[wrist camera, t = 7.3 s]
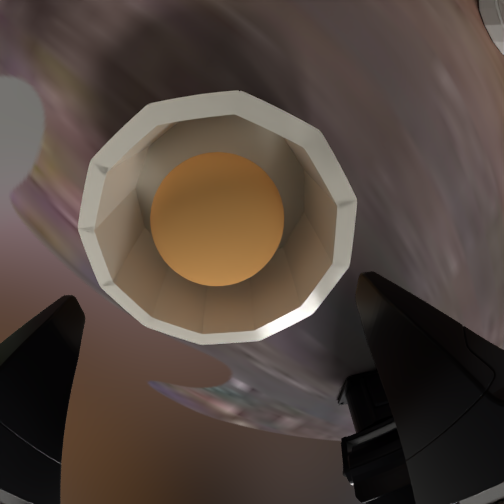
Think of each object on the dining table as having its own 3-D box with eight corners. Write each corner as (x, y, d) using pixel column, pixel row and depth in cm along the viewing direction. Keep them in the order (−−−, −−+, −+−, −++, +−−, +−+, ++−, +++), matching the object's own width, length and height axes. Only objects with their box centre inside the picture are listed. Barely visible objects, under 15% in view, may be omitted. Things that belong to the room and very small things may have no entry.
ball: (276, 239, 16) (295, 307, 11) (177, 249, 16) (156, 318, 11) (271, 138, 13) (296, 162, 8) (158, 151, 13) (113, 184, 8)
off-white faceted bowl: (311, 265, 18) (337, 330, 13) (152, 279, 18) (129, 345, 13) (313, 94, 13) (360, 91, 7) (114, 118, 12) (53, 133, 7)
